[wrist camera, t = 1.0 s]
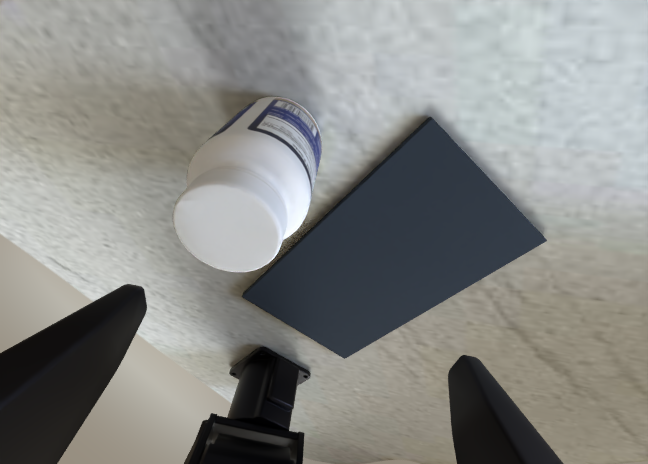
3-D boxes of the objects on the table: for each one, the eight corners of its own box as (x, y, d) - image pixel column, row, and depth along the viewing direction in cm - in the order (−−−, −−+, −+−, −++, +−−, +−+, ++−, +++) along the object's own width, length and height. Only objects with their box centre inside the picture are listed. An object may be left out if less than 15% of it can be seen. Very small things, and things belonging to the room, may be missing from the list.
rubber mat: (344, 354, 31) (344, 359, 31) (243, 292, 27) (241, 297, 27) (543, 236, 22) (547, 240, 21) (430, 115, 18) (431, 118, 17)
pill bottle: (250, 185, 21) (186, 290, 13) (223, 102, 18) (120, 172, 10) (329, 177, 20) (312, 283, 12) (315, 87, 17) (280, 151, 9)
